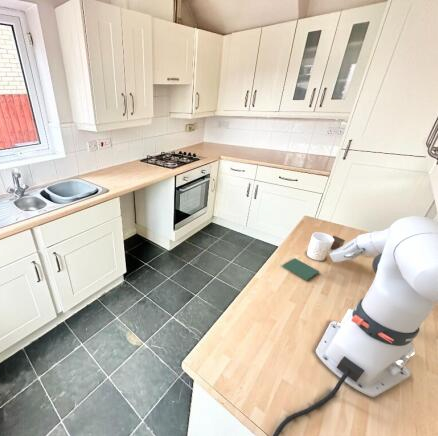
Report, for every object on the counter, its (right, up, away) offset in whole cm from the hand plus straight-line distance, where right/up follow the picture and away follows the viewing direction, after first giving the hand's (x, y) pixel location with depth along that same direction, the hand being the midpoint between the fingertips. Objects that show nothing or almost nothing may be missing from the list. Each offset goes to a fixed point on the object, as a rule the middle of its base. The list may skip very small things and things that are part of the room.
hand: (331, 252), depth 101 cm
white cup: (-2, -3, +6) cm, 7 cm away
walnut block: (+10, +1, +12) cm, 15 cm away
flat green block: (-14, -7, -2) cm, 16 cm away
